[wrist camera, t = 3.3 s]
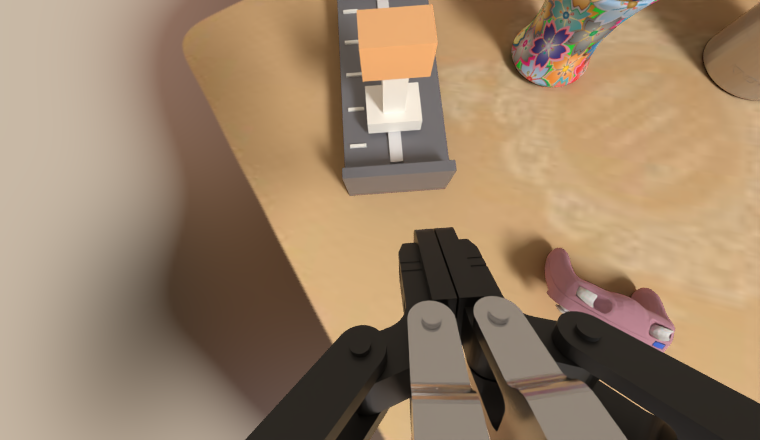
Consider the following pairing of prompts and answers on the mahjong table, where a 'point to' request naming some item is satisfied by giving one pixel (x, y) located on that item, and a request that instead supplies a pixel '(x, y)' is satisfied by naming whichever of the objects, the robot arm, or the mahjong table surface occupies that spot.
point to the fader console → (388, 149)
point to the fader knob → (395, 63)
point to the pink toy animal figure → (609, 303)
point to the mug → (567, 37)
